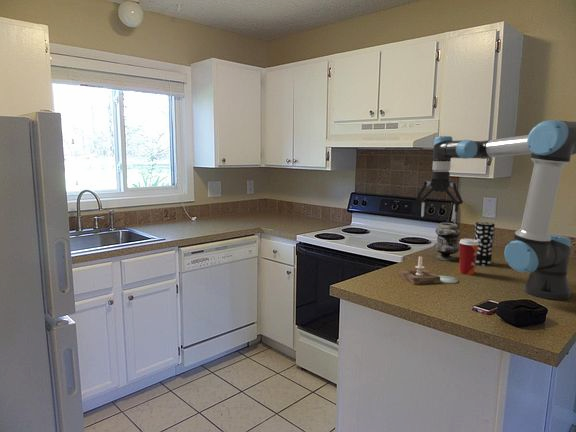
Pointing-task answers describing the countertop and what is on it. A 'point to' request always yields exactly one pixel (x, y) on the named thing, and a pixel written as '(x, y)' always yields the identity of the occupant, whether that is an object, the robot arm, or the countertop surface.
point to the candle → (419, 267)
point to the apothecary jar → (447, 241)
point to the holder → (414, 279)
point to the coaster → (448, 279)
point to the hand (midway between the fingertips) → (437, 217)
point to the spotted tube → (484, 242)
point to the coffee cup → (468, 256)
